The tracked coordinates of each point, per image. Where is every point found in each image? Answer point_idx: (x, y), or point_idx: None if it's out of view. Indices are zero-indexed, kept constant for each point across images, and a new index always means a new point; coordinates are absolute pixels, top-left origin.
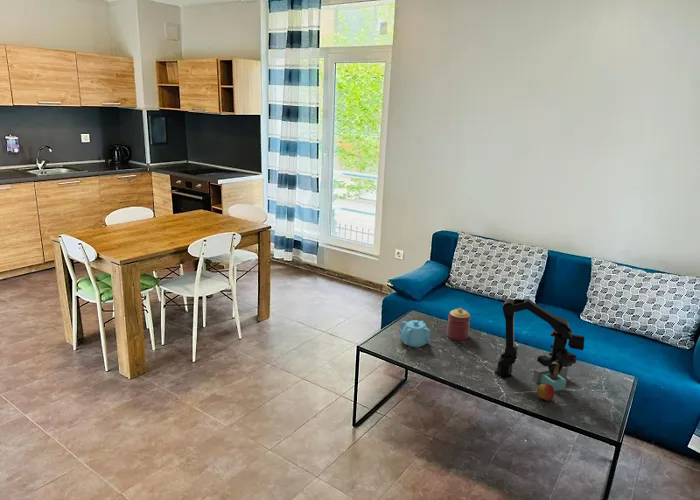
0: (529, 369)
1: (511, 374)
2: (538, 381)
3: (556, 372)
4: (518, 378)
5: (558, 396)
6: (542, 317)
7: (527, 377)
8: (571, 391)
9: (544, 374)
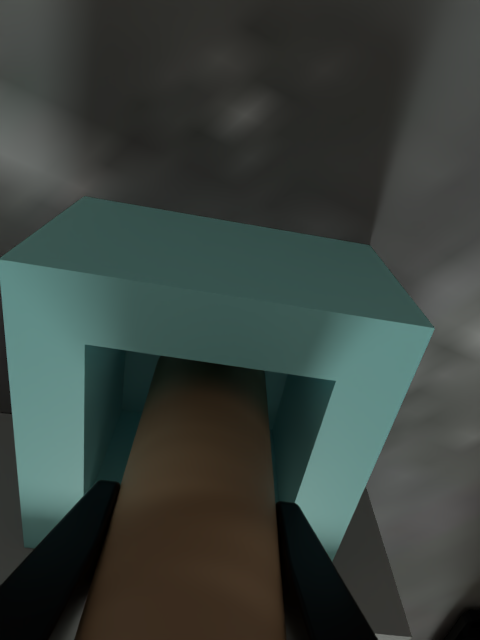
0: None
1: (459, 632)
2: None
3: (224, 560)
4: (444, 573)
5: (415, 59)
6: None
7: None
8: (17, 73)
9: None
